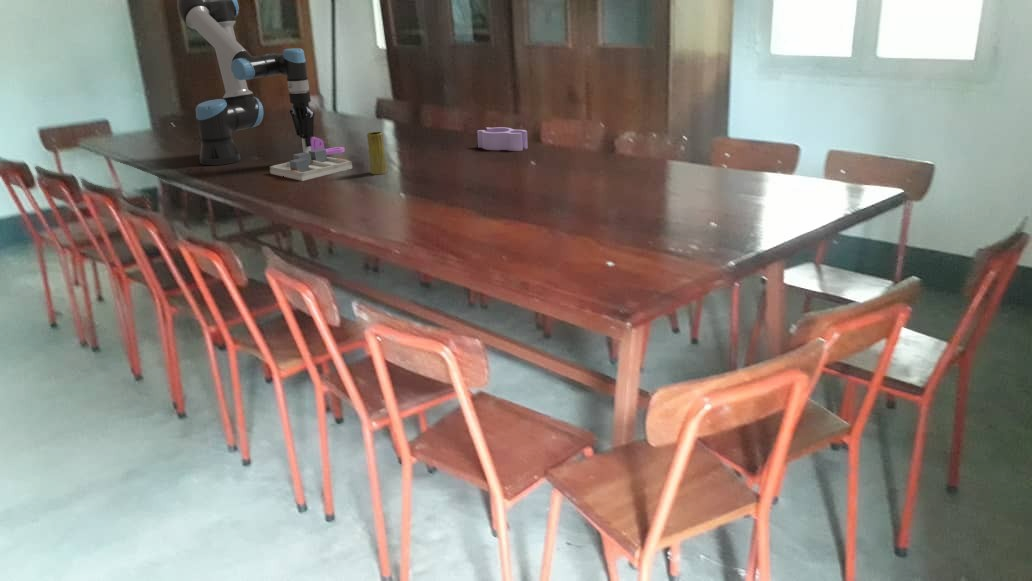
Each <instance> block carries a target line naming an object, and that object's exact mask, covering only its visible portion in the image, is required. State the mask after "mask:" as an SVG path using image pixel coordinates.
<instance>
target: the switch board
mask: <svg viewBox="0 0 1032 581" xmlns="http://www.w3.org/2000/svg"><path fill="white" fill-rule="evenodd" d="M311 161H312V164H310V165H309V171H305V172H300V171H296V170H291V168H290V162H289V161H287V162H284V163H278V164H273V165H270V166H269V172H270V174H271V175H275V176H279V177H283V176H284V177H283V178H288V179H293V180H297V181H301V182H302V181H303V182H304V181H307V180H312V179H316V178H320V177H324V176H327V175H332V174H335V173H340V172H344V171H347V170H351V169H353V162H352V161H351V160H348V159H345V158H344V159H343V158H340V157H339V158H335V157H330V156H327V161H322V162H318V161H316V160H311Z"/></svg>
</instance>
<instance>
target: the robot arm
mask: <svg viewBox="0 0 1032 581" xmlns="http://www.w3.org/2000/svg"><path fill="white" fill-rule="evenodd" d="M176 4H177V5H176V6H177V12H178V15H179V17H180V18H181V20H182V21H183V22H184V24H186V26H188V27H189V28H190V29H192V30H196V32H198V34H199V35H200V36H201V37H203V38H204V40H206V41H207V43H209V44H210V45H211V46H212V47H213V48H214V50H215V54H216V57H217V62H218V67H219V70H220V74H221V75H220V76H221V79H222V83H223V86H224V91H225V93H224V95H223V96H222V98H217V99H215V98H214V99H212V100H206V101H202V102H200V103H198V104H197V105H196V107H195V119H196V121H197V126H198V131H199V137H200V142H201V145H200V152H199V162H200V164H201V165H203V166H220V165H223V166H224V165H229V164H233V163H236V162H239V161H240V160H241V156H240V155H241V154H240V152H239V150H238V148H237V146H236V144H235V143H234V141H233V136H232V132H237V131H241V130H246V129H249V130H250V129H252V128H255V127H257V126H259V125H260V124H262V120H263V118H264V105H263V104H262V101H260V99H259V98H257V97H256V96H254V92H253V91H252V90H249V88H248V83H247V80H248V81H249V80H255V79H258V78H266V77H273V76H286V81H287V88H288V92H289V94H288V96H289V102H290V104H292V108H291V109H290V110H289V113H290V116H291V119H292V122H293V125H294V126H293V127H294V129H295V132H296V135H297V136H298V137H299V138H300V140H301V145H302V153H303V152H306V153H309V151H311V141H310V139H311V138H312V137H314V134H315V133H314V131H315V130H314V129H315V128H314V127H315V126H314V122H315V121H314V120H315V113H316V112H315V111H312V110H311V107H310V104H309V103H310V102H311V101H312V99H311V94H310V91H309V90H310V83H309V79H308V71H307V70H308V69H307V64H306V63H307V60H306V57H305V51H304V49H302V48H299V47H295V48H285V49H283V50H282V53H275V52H274V53H266V54H264V55H256V56H253V55H251V53H250V52H249V51H248V50H246V49H245V48H244V47H243V46H242V44H240V43H239V42H238V41H237V38H236V35H235V30H234V25H235V24H236V22H237V21H236V17H237V16H239V10H240V7H239V2H238V0H177V3H176Z"/></svg>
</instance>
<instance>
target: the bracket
mask: <svg viewBox="0 0 1032 581" xmlns="http://www.w3.org/2000/svg"><path fill="white" fill-rule="evenodd" d="M310 141H311V151H312V150H316V149H324V150H326V154H327V156H328V155H329V156H330V155H334V154H339V153H345V150H346V149H345V147H344V146H335V147H330V148H325V142H324V140H323V139H321V138H319V137H317V136H312V137H310Z"/></svg>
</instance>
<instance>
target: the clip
mask: <svg viewBox="0 0 1032 581" xmlns="http://www.w3.org/2000/svg"><path fill="white" fill-rule="evenodd" d="M485 128H486V130H485V129H479V130H477V148H481V149H484V150H486V151H502V150H503V151H510V152H511V151H512V152H517V151H518V152H520V151H523V149H524V150H526V149H527V150H528V131H527V130H526V129H513V128H511V127H504V126H503V127H502V126H499V127H487V126H486V127H485Z"/></svg>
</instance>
